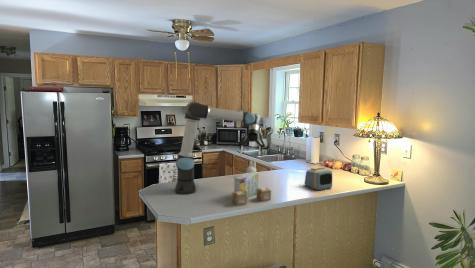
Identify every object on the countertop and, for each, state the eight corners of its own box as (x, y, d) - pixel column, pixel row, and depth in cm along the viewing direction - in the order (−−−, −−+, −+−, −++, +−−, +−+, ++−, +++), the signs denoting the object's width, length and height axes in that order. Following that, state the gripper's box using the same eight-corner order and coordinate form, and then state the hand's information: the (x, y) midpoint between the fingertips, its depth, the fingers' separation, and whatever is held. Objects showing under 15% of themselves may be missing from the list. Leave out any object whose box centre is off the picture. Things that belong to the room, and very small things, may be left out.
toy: (259, 178, 263) (260, 161, 261) (246, 182, 251) (247, 164, 249) (250, 176, 270) (250, 159, 268) (237, 179, 258) (237, 161, 256)
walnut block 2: (256, 198, 212) (256, 188, 211) (265, 197, 215) (265, 187, 214) (261, 201, 206) (262, 191, 205) (270, 200, 209) (271, 190, 208)
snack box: (252, 192, 226) (252, 171, 224) (258, 193, 222) (259, 173, 220) (233, 198, 209) (234, 177, 207) (239, 200, 206) (240, 178, 204)
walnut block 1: (232, 202, 203) (232, 191, 202) (241, 201, 206) (242, 190, 205) (237, 206, 196) (237, 195, 195) (246, 204, 199) (247, 193, 198)
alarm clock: (318, 191, 232) (319, 170, 230) (303, 185, 246) (304, 166, 244) (333, 188, 241) (334, 168, 239) (317, 183, 255) (319, 164, 253)
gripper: (270, 134, 238) (267, 157, 225) (238, 133, 243) (234, 156, 231) (269, 128, 232) (266, 152, 219) (237, 127, 237) (232, 150, 225)
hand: (250, 154), depth 225 cm, fingers open, 13 cm apart
